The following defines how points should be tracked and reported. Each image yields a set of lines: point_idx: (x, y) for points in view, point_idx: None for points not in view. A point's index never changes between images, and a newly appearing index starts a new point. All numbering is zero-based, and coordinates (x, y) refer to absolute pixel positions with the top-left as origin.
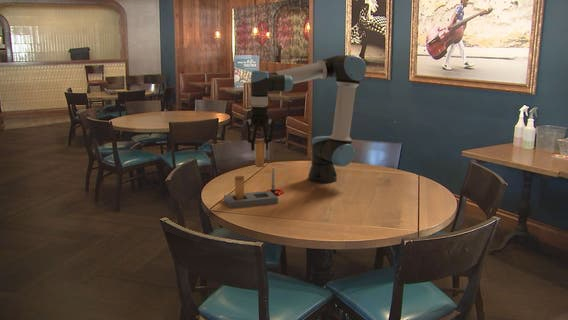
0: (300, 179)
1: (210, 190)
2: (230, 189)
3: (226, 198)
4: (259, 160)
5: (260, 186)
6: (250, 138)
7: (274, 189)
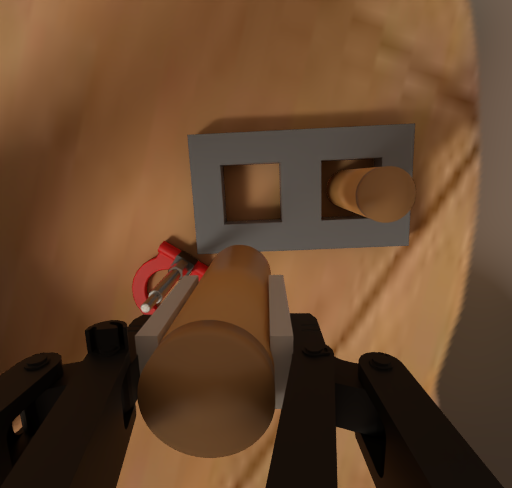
0: None
1: None
2: None
3: None
4: (244, 257)
5: None
6: (379, 394)
7: (175, 262)
